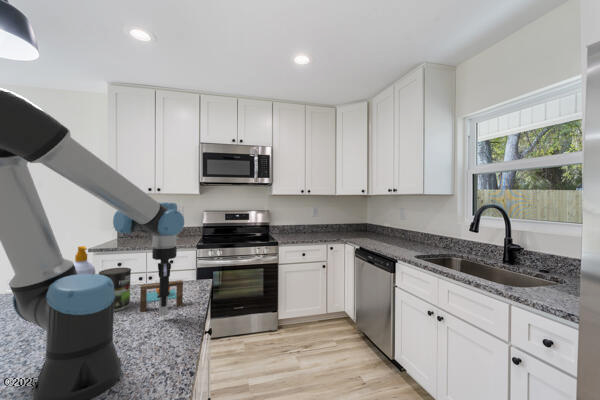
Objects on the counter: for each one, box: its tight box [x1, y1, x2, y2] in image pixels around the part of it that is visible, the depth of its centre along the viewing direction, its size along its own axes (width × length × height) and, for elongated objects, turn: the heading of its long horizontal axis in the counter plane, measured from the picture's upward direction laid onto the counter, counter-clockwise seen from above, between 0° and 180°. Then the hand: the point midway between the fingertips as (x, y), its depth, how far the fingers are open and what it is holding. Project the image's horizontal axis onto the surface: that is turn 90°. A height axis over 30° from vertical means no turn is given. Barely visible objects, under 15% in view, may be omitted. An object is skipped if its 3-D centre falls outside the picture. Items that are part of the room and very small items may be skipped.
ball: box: [155, 287, 171, 295], centre depth 116 cm, size 6×6×6 cm
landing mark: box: [146, 288, 177, 303], centre depth 116 cm, size 12×12×1 cm
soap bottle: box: [73, 245, 96, 275], centre depth 99 cm, size 9×9×24 cm
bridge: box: [139, 279, 184, 313], centre depth 104 cm, size 3×14×9 cm, turn 119°
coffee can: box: [98, 267, 132, 312], centre depth 103 cm, size 10×10×14 cm
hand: (163, 314), depth 93 cm, fingers closed
